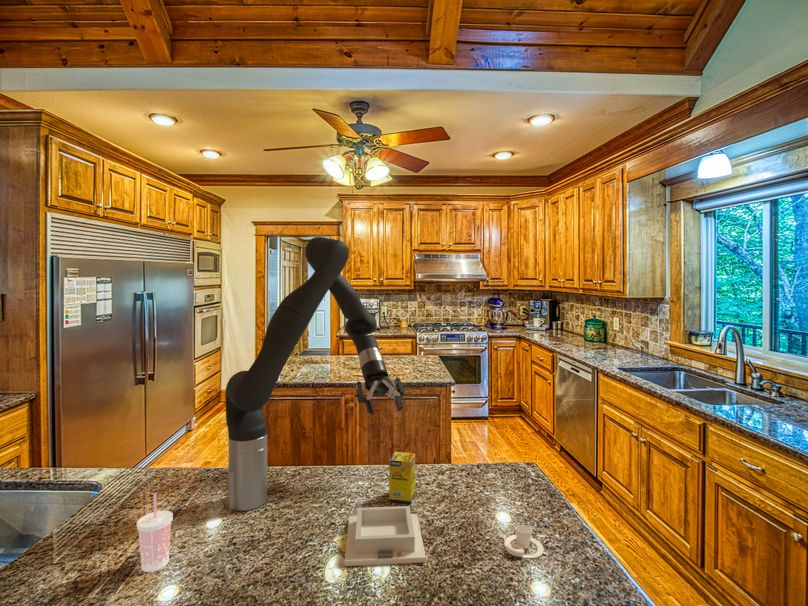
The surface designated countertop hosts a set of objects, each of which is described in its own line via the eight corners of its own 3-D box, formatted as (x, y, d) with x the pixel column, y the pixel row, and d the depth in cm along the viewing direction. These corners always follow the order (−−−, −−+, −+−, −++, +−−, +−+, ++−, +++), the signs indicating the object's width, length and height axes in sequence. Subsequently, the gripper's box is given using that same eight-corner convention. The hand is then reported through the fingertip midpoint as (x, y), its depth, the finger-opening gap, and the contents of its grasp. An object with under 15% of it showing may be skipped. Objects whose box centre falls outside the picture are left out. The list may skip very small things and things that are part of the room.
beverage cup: (176, 551, 83) (176, 484, 83) (169, 570, 77) (168, 498, 77) (142, 557, 81) (141, 488, 81) (132, 577, 75) (131, 503, 75)
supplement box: (411, 504, 102) (411, 461, 101) (388, 502, 103) (388, 459, 103) (415, 493, 107) (415, 452, 107) (393, 491, 109) (394, 451, 108)
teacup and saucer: (513, 564, 80) (513, 543, 80) (494, 540, 88) (494, 522, 87) (551, 556, 82) (551, 537, 82) (529, 534, 90) (529, 516, 90)
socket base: (344, 566, 78) (344, 545, 78) (349, 520, 94) (349, 503, 94) (425, 562, 80) (425, 542, 80) (417, 517, 96) (417, 501, 95)
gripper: (353, 360, 120) (365, 408, 110) (396, 356, 126) (412, 402, 116) (348, 374, 125) (360, 421, 115) (390, 370, 131) (405, 415, 121)
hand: (386, 411), depth 115 cm, fingers open, 8 cm apart
